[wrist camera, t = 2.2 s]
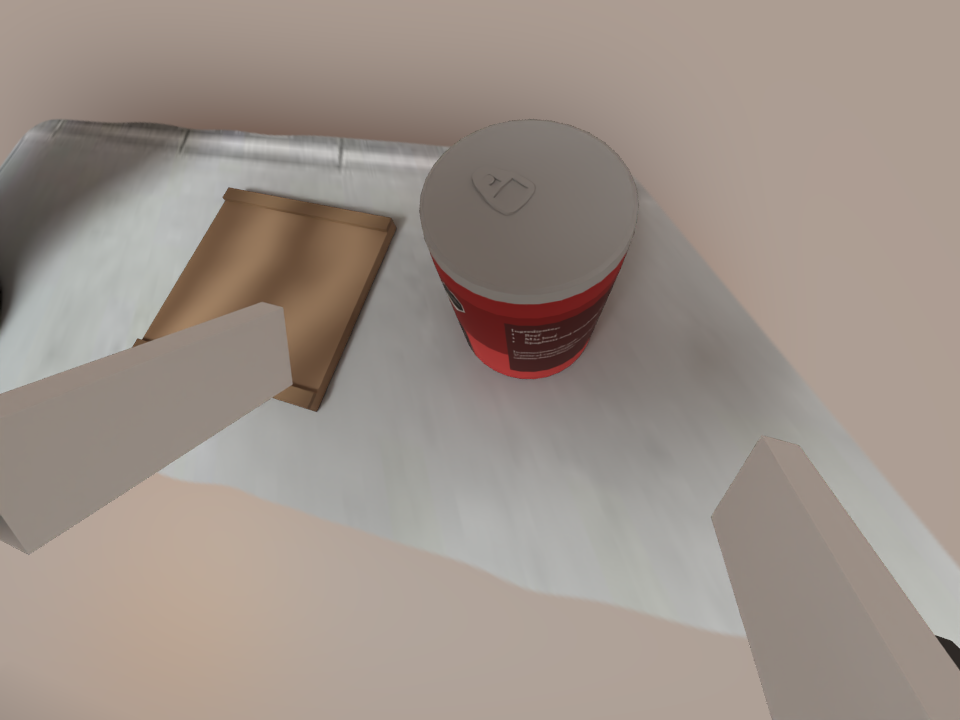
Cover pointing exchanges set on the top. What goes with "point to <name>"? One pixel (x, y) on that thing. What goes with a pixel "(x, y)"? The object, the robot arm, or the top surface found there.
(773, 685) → the robot arm
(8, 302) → the top surface
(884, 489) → the top surface
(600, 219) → the canned food
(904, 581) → the top surface
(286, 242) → the trivet
